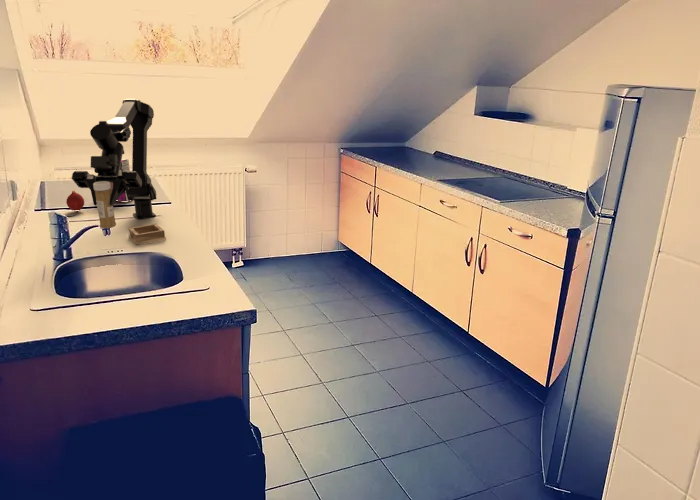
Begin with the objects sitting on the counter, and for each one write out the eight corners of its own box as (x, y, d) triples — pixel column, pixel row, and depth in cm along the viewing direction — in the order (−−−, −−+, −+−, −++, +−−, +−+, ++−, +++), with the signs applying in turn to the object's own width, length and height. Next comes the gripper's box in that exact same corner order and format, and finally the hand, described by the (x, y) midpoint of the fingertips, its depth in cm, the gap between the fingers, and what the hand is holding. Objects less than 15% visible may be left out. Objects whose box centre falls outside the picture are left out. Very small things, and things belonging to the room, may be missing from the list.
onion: (89, 211, 207) (85, 190, 205) (74, 215, 203) (71, 193, 200) (79, 208, 210) (76, 187, 208) (64, 212, 206) (61, 191, 203)
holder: (129, 236, 181) (127, 227, 180) (157, 232, 186) (156, 223, 185) (136, 244, 174) (135, 235, 173) (166, 239, 179) (165, 230, 178)
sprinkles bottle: (118, 227, 169) (111, 183, 164) (102, 229, 167) (95, 185, 162) (114, 222, 173) (107, 179, 168) (98, 225, 170) (91, 181, 165)
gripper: (68, 143, 164) (58, 191, 158) (133, 144, 165) (126, 191, 159) (84, 164, 175) (74, 209, 169) (145, 164, 175) (138, 209, 169)
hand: (102, 204), depth 166 cm, fingers closed on sprinkles bottle, 4 cm apart
